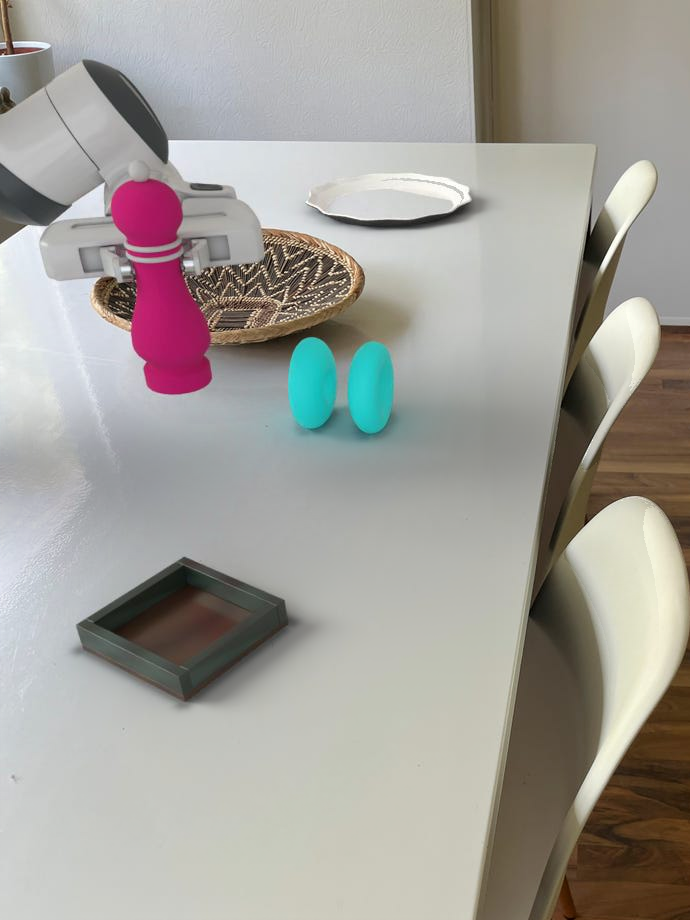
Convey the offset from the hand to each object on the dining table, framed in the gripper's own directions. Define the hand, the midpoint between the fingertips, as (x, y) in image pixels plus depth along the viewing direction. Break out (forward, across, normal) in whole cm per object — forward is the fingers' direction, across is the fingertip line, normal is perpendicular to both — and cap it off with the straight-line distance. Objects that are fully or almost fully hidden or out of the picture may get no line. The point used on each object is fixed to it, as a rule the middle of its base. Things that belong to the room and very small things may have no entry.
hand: (158, 270), depth 92 cm
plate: (-92, +41, +23) cm, 104 cm away
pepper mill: (-1, 0, +11) cm, 11 cm away
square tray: (+25, -3, +23) cm, 34 cm away
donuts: (-10, +17, +23) cm, 30 cm away
